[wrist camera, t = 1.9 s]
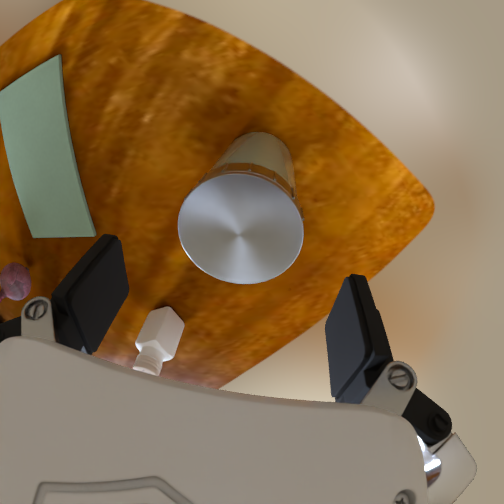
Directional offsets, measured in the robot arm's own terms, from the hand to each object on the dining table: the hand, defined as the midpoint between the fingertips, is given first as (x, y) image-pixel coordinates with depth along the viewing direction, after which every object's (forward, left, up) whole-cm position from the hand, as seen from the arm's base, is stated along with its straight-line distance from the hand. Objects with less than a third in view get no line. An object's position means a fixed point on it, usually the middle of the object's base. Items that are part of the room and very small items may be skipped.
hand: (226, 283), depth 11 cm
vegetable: (+13, -39, -16) cm, 44 cm away
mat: (-4, -26, -15) cm, 30 cm away
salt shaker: (+20, -13, -16) cm, 28 cm away
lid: (0, 0, -4) cm, 4 cm away
